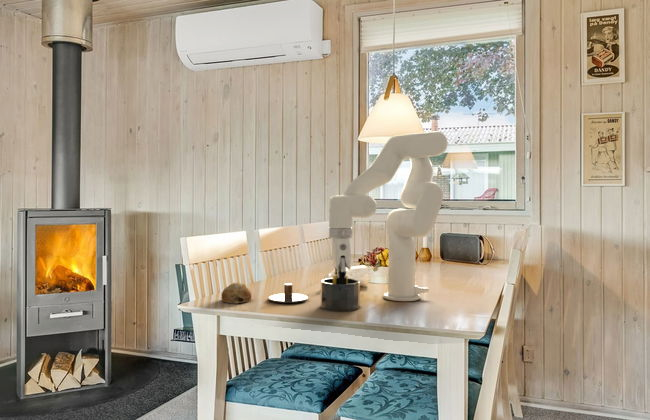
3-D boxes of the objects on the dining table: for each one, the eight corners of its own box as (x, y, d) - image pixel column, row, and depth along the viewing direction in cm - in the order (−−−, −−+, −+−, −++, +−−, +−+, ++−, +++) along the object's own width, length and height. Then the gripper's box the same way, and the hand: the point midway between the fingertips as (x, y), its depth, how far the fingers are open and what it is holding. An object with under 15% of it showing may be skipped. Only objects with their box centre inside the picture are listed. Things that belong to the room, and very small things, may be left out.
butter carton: (345, 288, 172) (345, 274, 172) (347, 290, 169) (347, 276, 169) (332, 289, 172) (332, 274, 172) (334, 291, 168) (334, 276, 168)
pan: (353, 300, 180) (353, 276, 180) (364, 312, 162) (364, 285, 162) (318, 301, 178) (318, 276, 178) (324, 313, 161) (324, 286, 161)
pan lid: (305, 296, 188) (305, 280, 188) (309, 304, 174) (309, 287, 174) (268, 296, 186) (268, 281, 186) (269, 304, 173) (269, 288, 173)
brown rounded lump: (224, 314, 174) (227, 294, 171) (216, 296, 182) (219, 277, 179) (252, 311, 178) (256, 292, 175) (244, 294, 186) (247, 275, 183)
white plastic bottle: (320, 288, 203) (320, 268, 203) (358, 283, 214) (358, 264, 214) (332, 291, 197) (332, 270, 197) (371, 286, 208) (371, 266, 207)
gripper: (356, 235, 162) (356, 294, 162) (347, 231, 178) (347, 285, 179) (332, 235, 161) (332, 294, 162) (325, 231, 177) (325, 285, 178)
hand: (340, 289), depth 170 cm, fingers closed on butter carton, 3 cm apart
